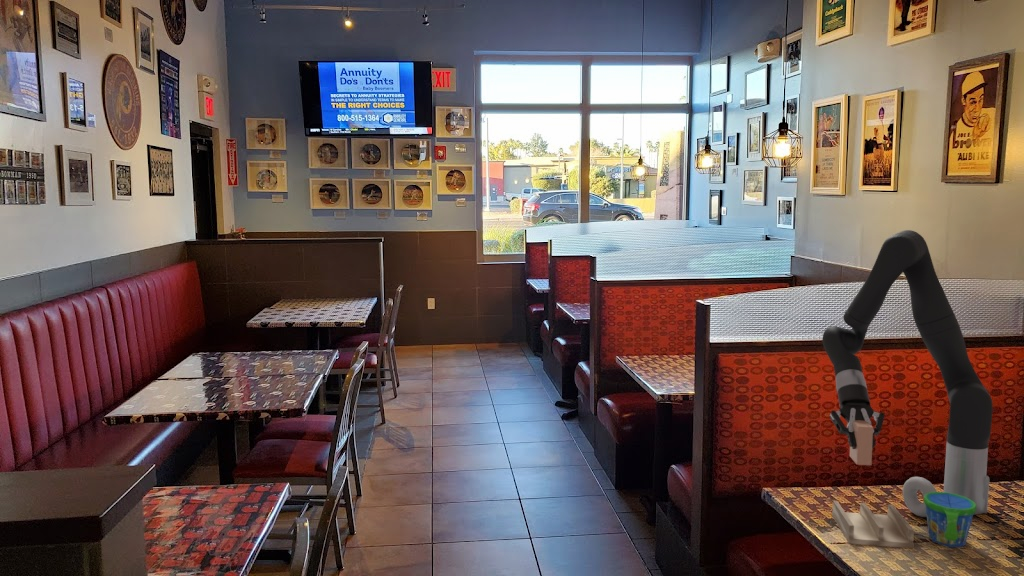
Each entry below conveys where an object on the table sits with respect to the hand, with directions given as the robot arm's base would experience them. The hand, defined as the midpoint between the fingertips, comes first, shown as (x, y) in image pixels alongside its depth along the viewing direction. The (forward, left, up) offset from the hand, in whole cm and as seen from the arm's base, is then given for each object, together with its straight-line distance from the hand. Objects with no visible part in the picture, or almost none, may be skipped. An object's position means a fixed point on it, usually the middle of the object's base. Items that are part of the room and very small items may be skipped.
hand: (863, 447), depth 193 cm
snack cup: (-15, +16, -17) cm, 28 cm away
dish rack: (+1, +13, -17) cm, 21 cm away
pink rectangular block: (0, -2, -4) cm, 5 cm away
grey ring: (-14, +1, -17) cm, 22 cm away
